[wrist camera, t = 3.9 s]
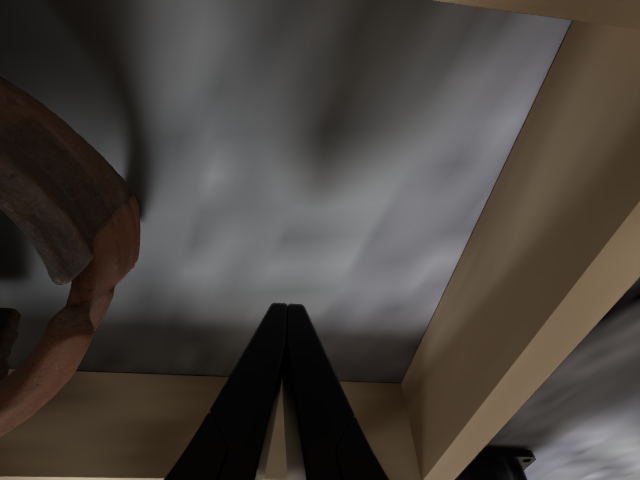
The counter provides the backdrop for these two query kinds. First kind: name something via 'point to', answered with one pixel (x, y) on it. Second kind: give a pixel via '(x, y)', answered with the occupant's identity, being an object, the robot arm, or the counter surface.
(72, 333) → the pottery mug
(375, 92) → the counter surface
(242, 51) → the counter surface
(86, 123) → the counter surface
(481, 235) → the wooden frame
